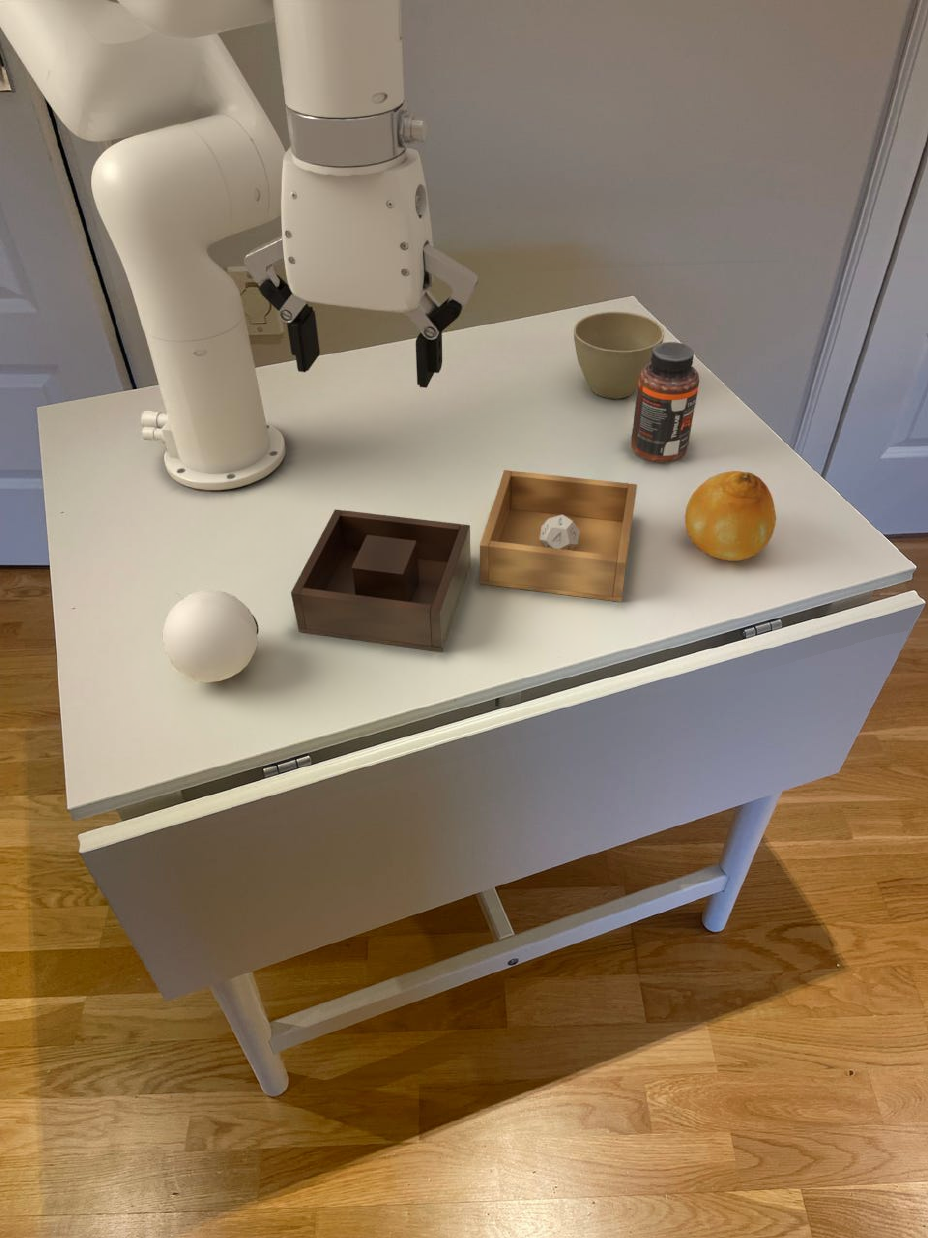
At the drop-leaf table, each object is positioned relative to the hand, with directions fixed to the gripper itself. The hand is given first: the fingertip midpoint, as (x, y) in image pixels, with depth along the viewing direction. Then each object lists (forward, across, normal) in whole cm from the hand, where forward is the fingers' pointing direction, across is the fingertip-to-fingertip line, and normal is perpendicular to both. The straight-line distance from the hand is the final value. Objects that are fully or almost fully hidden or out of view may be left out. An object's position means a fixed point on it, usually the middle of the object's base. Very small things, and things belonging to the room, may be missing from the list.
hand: (367, 370), depth 71 cm
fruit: (+19, -31, -9) cm, 37 cm away
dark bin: (+19, -2, +5) cm, 20 cm away
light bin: (+19, -16, -4) cm, 25 cm away
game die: (+19, -16, -4) cm, 25 cm away
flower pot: (+20, -17, -35) cm, 44 cm away
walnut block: (+19, -2, +5) cm, 19 cm away
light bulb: (+20, +10, +15) cm, 27 cm away
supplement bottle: (+19, -23, -24) cm, 38 cm away
